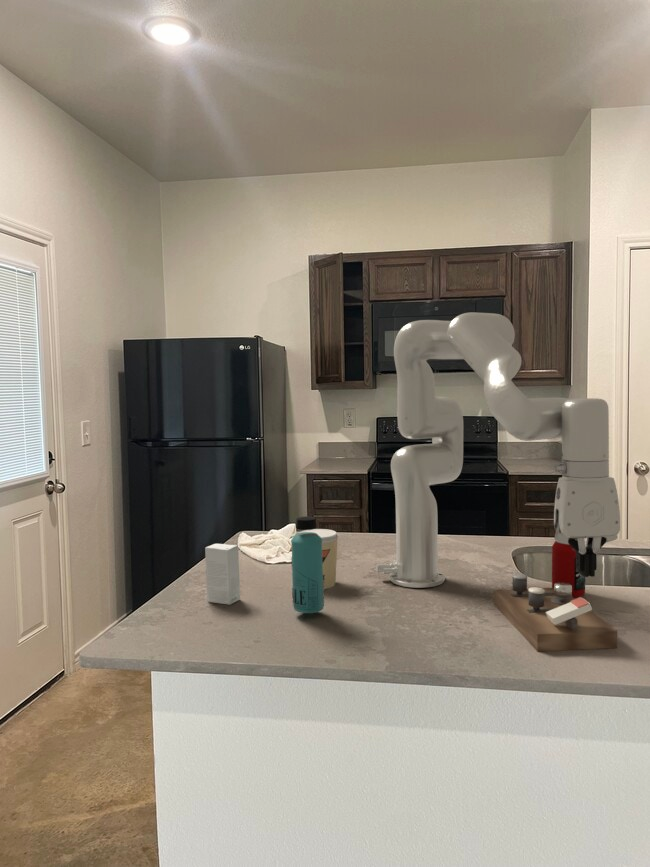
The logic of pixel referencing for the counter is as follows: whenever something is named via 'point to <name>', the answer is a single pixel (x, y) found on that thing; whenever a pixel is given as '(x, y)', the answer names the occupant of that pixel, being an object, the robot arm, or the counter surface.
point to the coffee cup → (328, 555)
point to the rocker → (569, 610)
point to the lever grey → (519, 583)
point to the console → (547, 635)
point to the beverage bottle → (307, 568)
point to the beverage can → (566, 568)
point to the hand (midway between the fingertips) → (586, 574)
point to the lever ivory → (536, 597)
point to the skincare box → (222, 573)
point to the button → (563, 590)
